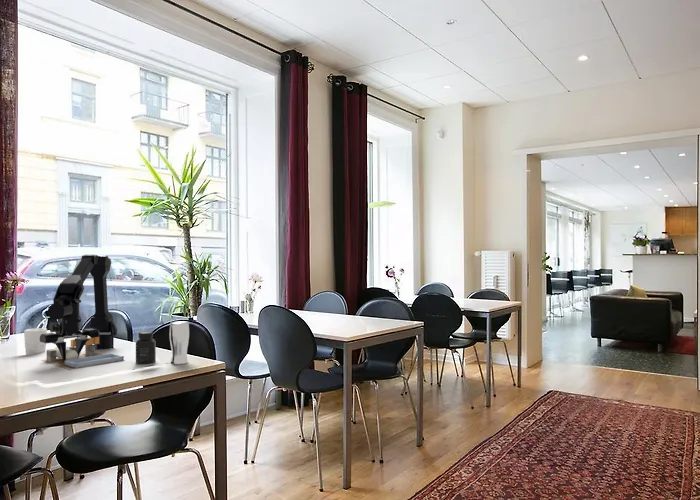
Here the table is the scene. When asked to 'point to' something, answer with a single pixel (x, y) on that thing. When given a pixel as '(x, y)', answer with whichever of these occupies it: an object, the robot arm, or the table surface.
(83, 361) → the tray
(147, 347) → the supplement bottle
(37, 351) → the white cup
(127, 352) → the table surface
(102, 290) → the robot arm
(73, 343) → the tie bar
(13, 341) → the table surface
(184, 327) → the beer glass
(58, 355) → the off-white cylinder
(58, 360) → the board
